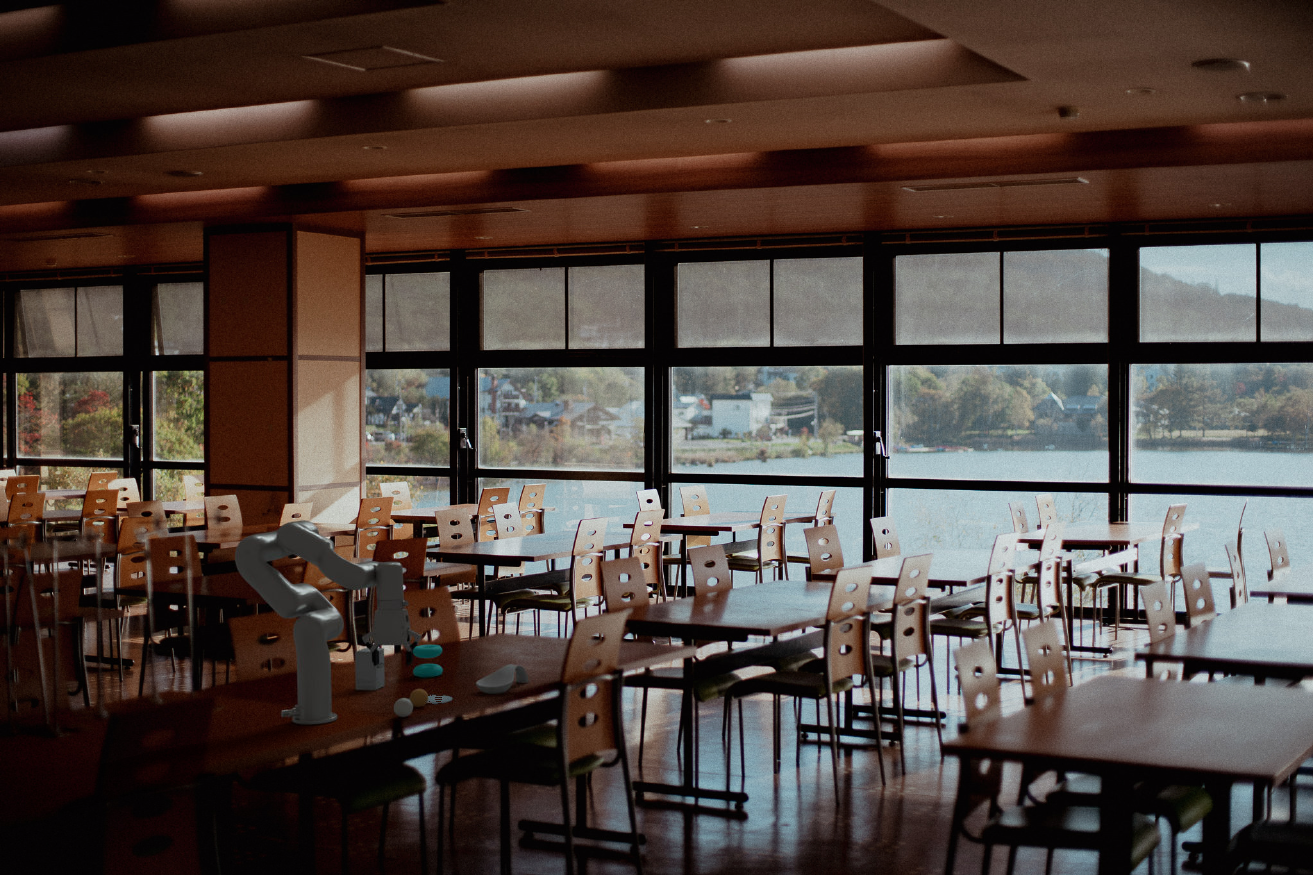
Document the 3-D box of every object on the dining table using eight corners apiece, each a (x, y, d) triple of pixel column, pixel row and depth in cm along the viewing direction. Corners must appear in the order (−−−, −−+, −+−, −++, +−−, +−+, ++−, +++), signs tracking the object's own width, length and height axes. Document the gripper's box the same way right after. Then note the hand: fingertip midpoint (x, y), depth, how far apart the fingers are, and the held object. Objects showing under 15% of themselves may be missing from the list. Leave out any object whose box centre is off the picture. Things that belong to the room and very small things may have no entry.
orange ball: (413, 709, 403) (413, 691, 403) (407, 706, 408) (406, 688, 408) (431, 707, 406) (430, 689, 406) (424, 704, 411) (424, 686, 411)
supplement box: (376, 690, 434) (375, 651, 434) (355, 690, 436) (354, 651, 436) (385, 686, 442) (384, 647, 442) (364, 685, 443) (363, 647, 443)
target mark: (416, 706, 407) (416, 706, 407) (400, 699, 419) (400, 698, 419) (459, 701, 415) (459, 700, 415) (442, 693, 427) (442, 693, 427)
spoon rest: (501, 697, 420) (501, 675, 420) (469, 695, 425) (468, 672, 425) (537, 684, 442) (537, 662, 442) (506, 681, 447) (506, 660, 447)
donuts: (421, 643, 466) (447, 644, 463) (422, 672, 466) (447, 673, 463) (407, 648, 457) (433, 649, 453) (407, 677, 457) (434, 678, 454)
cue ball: (397, 719, 390) (397, 700, 389) (391, 716, 394) (390, 697, 394) (415, 717, 392) (415, 698, 392) (409, 714, 397) (408, 695, 397)
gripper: (423, 603, 387) (425, 662, 387) (366, 604, 389) (368, 663, 389) (415, 606, 379) (417, 666, 379) (356, 607, 382) (359, 667, 382)
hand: (392, 664), depth 384 cm, fingers open, 9 cm apart
